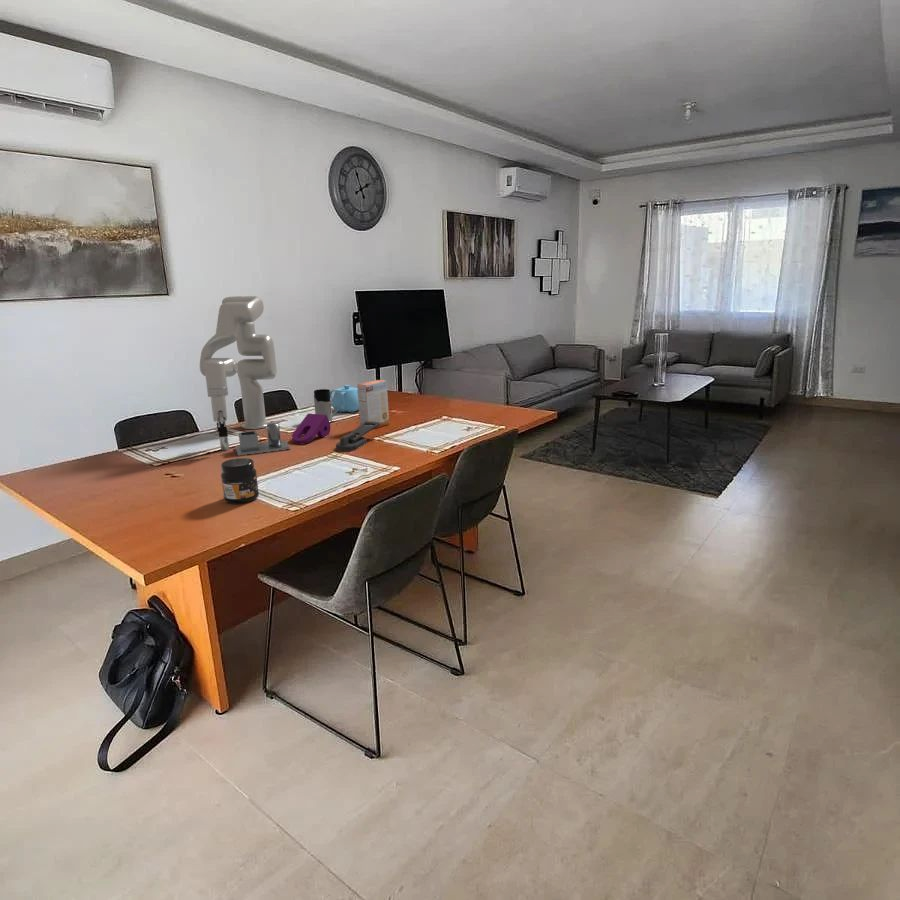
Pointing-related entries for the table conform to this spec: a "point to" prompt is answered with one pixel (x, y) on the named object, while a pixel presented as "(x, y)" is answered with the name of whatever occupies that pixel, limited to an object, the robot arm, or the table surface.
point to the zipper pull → (356, 437)
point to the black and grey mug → (324, 403)
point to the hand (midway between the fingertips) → (222, 434)
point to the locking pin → (224, 443)
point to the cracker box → (373, 402)
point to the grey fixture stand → (252, 446)
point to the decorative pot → (345, 399)
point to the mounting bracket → (311, 428)
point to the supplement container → (239, 480)
